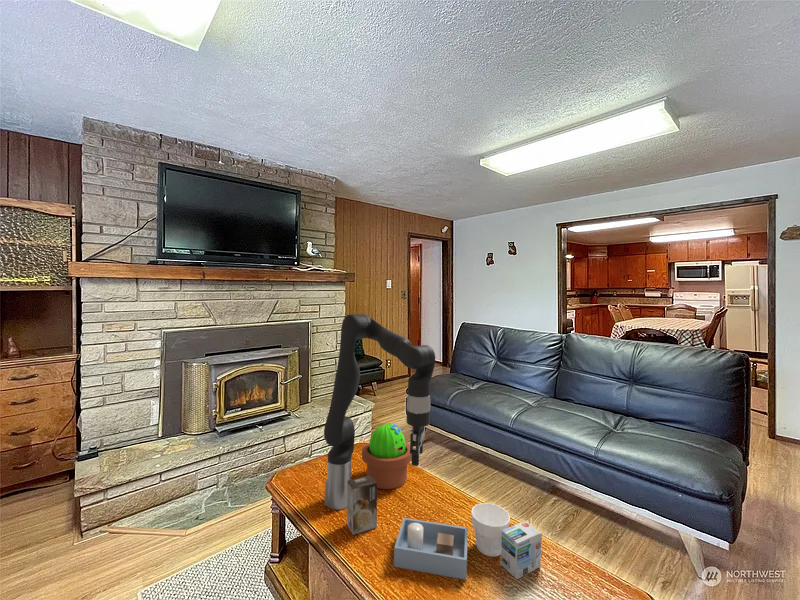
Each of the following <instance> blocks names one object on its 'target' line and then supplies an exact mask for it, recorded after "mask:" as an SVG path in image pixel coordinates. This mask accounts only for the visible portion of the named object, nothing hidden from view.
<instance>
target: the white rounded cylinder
mask: <svg viewBox="0 0 800 600" xmlns="http://www.w3.org/2000/svg"><path fill="white" fill-rule="evenodd" d="M407 548H411V549H417V550H422V551H423V526H422V525H421V524H419V523H411V524H409V525H408V544H407Z"/></svg>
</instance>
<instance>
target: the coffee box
mask: <svg viewBox="0 0 800 600" xmlns="http://www.w3.org/2000/svg"><path fill="white" fill-rule="evenodd" d="M346 508H347V509H346V510H347V513H346V525H347V527H348V528H349V530H350V532H351V534H352V535H357V534H361V533H363V532H366V531H370V530H372V529H376V528H377V527H378V526H377V525H378V524H377V523H378V488H377V482H376V481H375V480H374V479H373V478H372V477H371V476H370V475H369V476H367V475H365V476H362V477H357V478H354V479H352V478H351V480H348V482H347V507H346Z"/></svg>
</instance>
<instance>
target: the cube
mask: <svg viewBox="0 0 800 600" xmlns="http://www.w3.org/2000/svg"><path fill="white" fill-rule="evenodd" d="M453 549H454V535H449V534H443V533H438V537H437V544H436V553H440V554H446V555H451V556H453Z"/></svg>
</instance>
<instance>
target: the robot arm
mask: <svg viewBox="0 0 800 600" xmlns="http://www.w3.org/2000/svg"><path fill="white" fill-rule="evenodd" d="M340 328H341V329H340V330H341V331H340V341H339V342H340V343H339V353H338V361H337V366H336V372H335V375H334V376H335V377H334V383H333V390H332V395H331V400H330V405H329V410H328V413H327V417H326V421H325V424H324V429H323V438H324V441H325V442H326V443H327V445H328V446H330V447H331V449H330V450H329V451H328V452H327V453H328V454H327V469H326V470H327V471H326V472H327V475H326V480H325V481H324V483H325V484H324V507H325V506H326V507H327V508H328V509H331V510H337V511H338V510H344V509H346V508H347V482H348V480H352V457H353V453H354V448H355V435H356V433H355V431H356V429H355V428H356V427H355V425H354V424H355V423H354V421H353V420H352V419H351V418H350V417H349V416H346V414H347V411H348V409H349V407H350V405H351V403H352V401H353V400H354V398H355V396H356V394H357V392H358V388H359V384H360V380H361V379H360V378H361V370H360V366H359V364H358V362H357V358H356V355H355V346H356V341H357V340H362V339H368V340H369V339H370V340H373V341H376V342H377V343H378V345H379V347H381V349H382V350H383V351H385V352H386V353H387V354H390V355H391V356H394V357H396V359H398V360H399V361H400V362H401V363H402V364H403V365H404V366H405V367H407V368H409V369H411V370H415V372H414V373H413V374H412V375H410V376H409V377H408V381H407V397H406V419H405V422H406V423H407V425H409V426H410V427H411V426H412V428H411V429H410V435H409V436H410V444H409V445H410V454H412V460H411V462H410V463H411V466H413V467H418V466H419V465H420V454H423V451H424V449H423V448H424V441H425V435H426V433H425V432H426V428H425V427H427V426H429V425H430V423H431V380H432V377H433V374H434V373H433V372H434V368H435V364H436V354H435V351H434V348H433V347H432V346H430V345H428V344H422V345H415V346H414V345H412V342H411V341H410V340H409V339H408V338H406V337H404V336H403V335H400V334H398V333H396V332H393V331H391V330H389V329H387V328H386V327H385V326H383V325H382V324H380V323H379V322H377V321H376V320H375V319H373V318H372V317H370V316H369V315H367V314H359V313H358V314H355V313H354V314H353V313H349V314H347V315H345V317H344V318H343V320H342V324H341V327H340ZM414 447H415V448H414Z"/></svg>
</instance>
